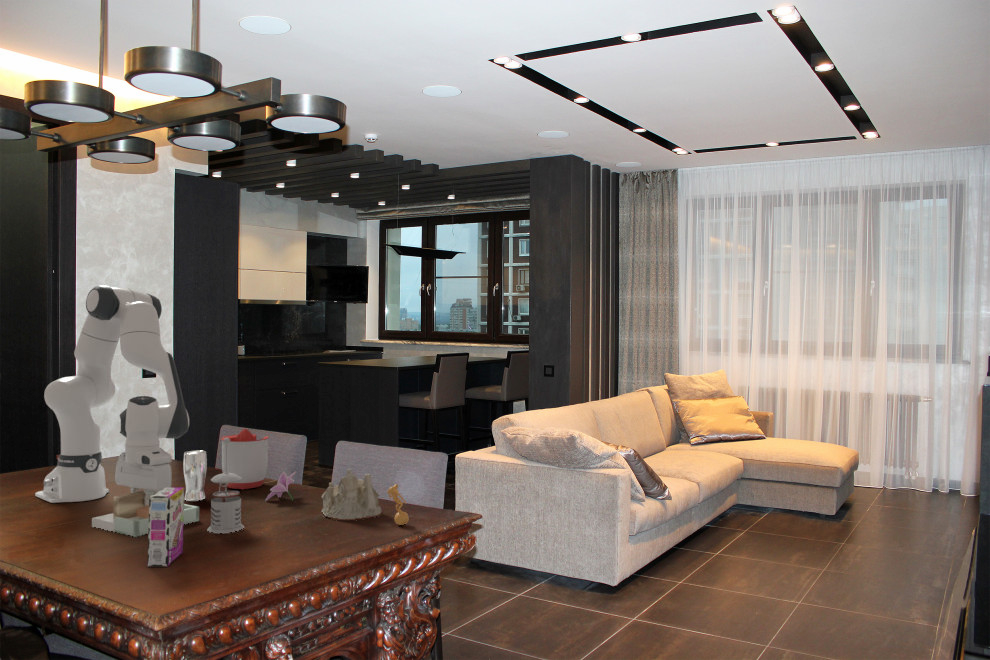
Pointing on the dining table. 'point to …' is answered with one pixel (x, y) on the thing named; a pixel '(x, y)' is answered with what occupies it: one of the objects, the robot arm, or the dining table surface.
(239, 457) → the citrus juicer
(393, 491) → the figurine
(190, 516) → the box
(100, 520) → the plate
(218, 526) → the french press
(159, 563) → the candy bar box
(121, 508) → the bar
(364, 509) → the castle model
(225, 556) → the dining table surface
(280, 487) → the lily
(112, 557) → the dining table surface
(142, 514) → the terracotta tile
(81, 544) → the dining table surface
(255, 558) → the dining table surface
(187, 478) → the beer glass
